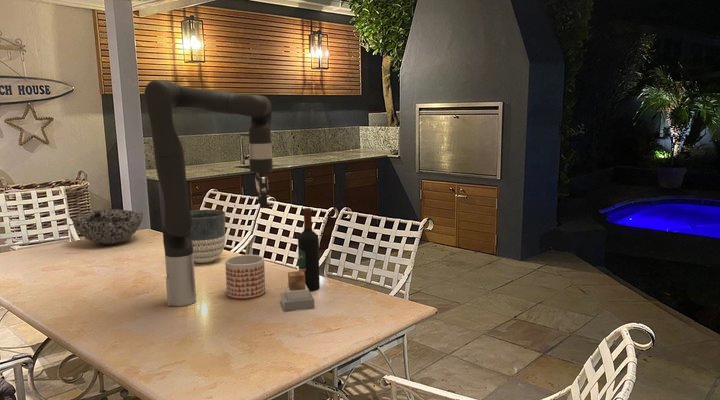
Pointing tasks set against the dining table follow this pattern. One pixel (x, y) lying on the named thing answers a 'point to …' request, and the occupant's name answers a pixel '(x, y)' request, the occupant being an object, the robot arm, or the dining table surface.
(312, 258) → the wine bottle
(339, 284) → the dining table surface
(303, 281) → the walnut block
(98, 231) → the bowl
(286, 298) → the plinth
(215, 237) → the planter
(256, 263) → the vase
